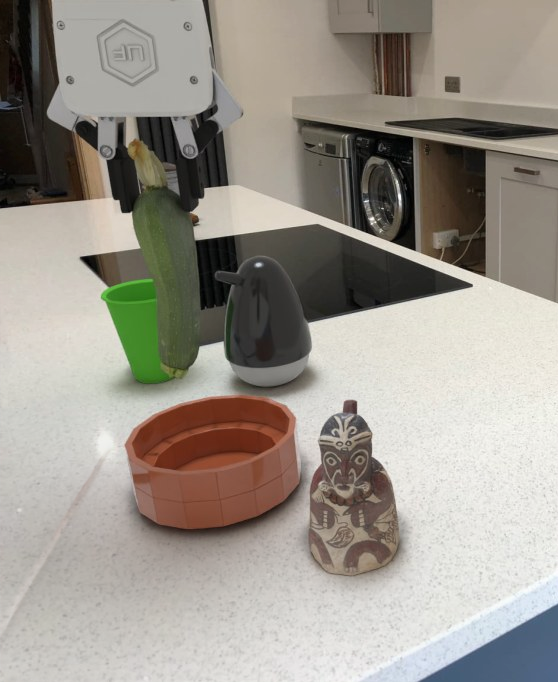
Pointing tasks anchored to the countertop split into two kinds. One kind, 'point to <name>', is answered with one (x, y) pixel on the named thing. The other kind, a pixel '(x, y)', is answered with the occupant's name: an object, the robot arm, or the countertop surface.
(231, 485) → the bowl
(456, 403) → the countertop surface
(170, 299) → the vegetable
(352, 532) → the figurine
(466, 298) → the countertop surface
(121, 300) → the cup
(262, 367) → the pump dispenser
